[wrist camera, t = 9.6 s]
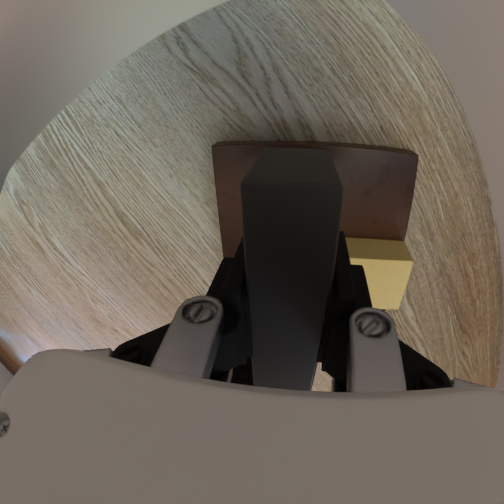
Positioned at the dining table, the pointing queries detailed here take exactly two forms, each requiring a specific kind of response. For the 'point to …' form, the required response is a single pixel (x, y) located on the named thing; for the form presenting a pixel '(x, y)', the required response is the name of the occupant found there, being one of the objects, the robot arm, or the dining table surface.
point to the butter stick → (382, 268)
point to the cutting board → (352, 178)
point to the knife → (289, 260)
